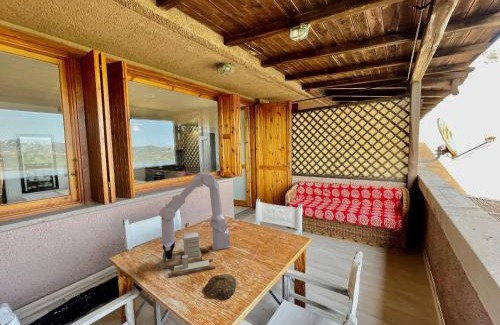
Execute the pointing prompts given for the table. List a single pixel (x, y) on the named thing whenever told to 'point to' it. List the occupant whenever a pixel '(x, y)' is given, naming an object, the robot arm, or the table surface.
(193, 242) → the supplement box
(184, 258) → the strip
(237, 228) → the table surface
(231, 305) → the table surface
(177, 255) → the wooden tray
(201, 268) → the lane frame
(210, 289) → the bread roll
